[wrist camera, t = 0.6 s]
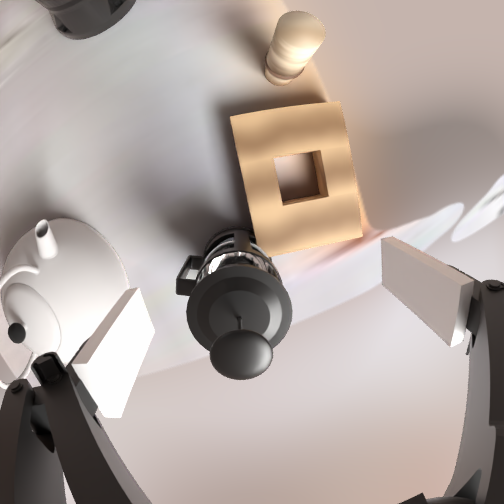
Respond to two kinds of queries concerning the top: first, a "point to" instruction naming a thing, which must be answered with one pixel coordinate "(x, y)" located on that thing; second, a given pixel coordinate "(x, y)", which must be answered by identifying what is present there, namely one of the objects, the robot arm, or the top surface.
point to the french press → (236, 303)
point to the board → (327, 170)
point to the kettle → (59, 287)
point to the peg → (292, 46)
